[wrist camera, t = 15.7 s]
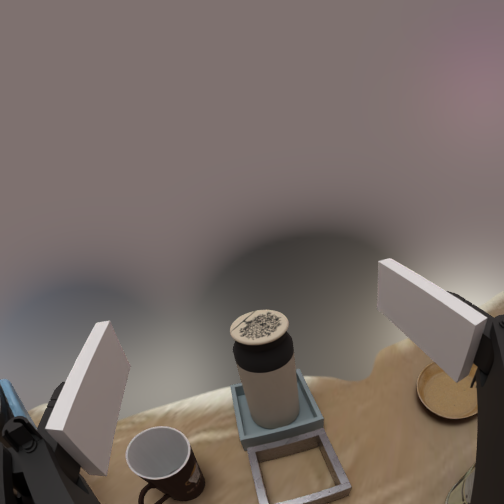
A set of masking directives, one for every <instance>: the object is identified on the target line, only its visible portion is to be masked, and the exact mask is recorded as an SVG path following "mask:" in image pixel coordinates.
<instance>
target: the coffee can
mask: <svg viewBox="0 0 504 504" xmlns="http://www.w3.org/2000/svg"><path fill="white" fill-rule="evenodd" d="M475 465H476V462H475V464H474V465H473V466H472V467H471V468H470V469H469V471H468V472H467V473H466V474H465V475H464V476H463V477H462V478H461V479H460V480H459V481H458V482H457V483H456V484H455V485H454V486H453V488H452V489H451V491H450V492H449V494H448V496H447V498H446V502H445V504H470V501H471V495H472V489H473V482H474V474H475Z"/></svg>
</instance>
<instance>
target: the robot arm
mask: <svg viewBox="0 0 504 504" xmlns="http://www.w3.org/2000/svg"><path fill="white" fill-rule="evenodd" d="M377 309H378V310H379V311H380V312H381V313H382V314H383V315H384V316H385V317H387V318H388V319H389V320H390V321H391V322H392V323H393V324H394V325H395V326H397V327H398V328H399V329H400V330H401V331H402V332H403V333H404V334H405V335H406V336H407V337H409V338H410V339H411V340H412V341H413V342H414V343H415V344H416V345H417V346H418V347H419V348H420V349H421V350H423V351H424V352H425V353H426V354H427V355H428V356H429V357H430V358H431V359H432V360H433V361H434V362H435V363H436V364H437V365H438V366H439V367H440V368H441V369H443V370H444V371H445V372H446V373H447V374H448V375H449V376H450V377H451V378H452V379H453V380H454V381H455V382H456V383H458V382H459V381H461V380H462V379H463V378H465V377H466V376H468V375H469V373H470V370H471V368H472V365H473V363H474V364H475V365H476V366H477V367H478V368H477V370H476V373H475V375H474V378H473V380H472V382H471V386H470V388H473V385H474V383H475V382H476V388H477V408H478V432H477V453H476V465H475V474H474V482H473V489H472V495H471V501H470V504H504V315H498V316H497V317H495V318H494V317H492V316H491V315H489V314H488V313H486V312H484V311H483V310H481V309H480V308H478V307H477V306H475V305H472V303H470V302H469V301H467V300H465V299H464V298H462V297H461V296H459V295H458V294H455V293H452V292H449V291H445V290H443V289H442V288H440V287H438V286H437V285H435V284H434V283H432V282H430V281H428V280H427V279H425V278H423V277H422V276H420V275H419V274H417V273H415V272H414V271H412V270H410V269H408V268H407V267H405V266H403V265H402V264H400V263H398V262H396V261H395V260H393V259H391V258H389V259H385V260H382V261H379V262H378V300H377ZM130 367H131V366H130V364H129V362H128V360H127V358H126V355H125V353H124V351H123V349H122V347H121V345H120V343H119V340H118V338H117V336H116V334H115V331H114V329H113V327H112V324H111V322H110V321H105V322H99V323H96V324H95V326H94V328H93V330H92V332H91V334H90V335H89V337H88V339H87V341H86V343H85V345H84V346H83V349H82V350H81V352H80V354H79V356H78V358H77V360H76V362H75V364H74V366H73V368H72V370H71V372H70V374H69V376H68V378H67V380H66V382H62V383H61V384H60V385H59V386H58V387H57V388H56V389H55V391H54V393H53V395H52V397H51V401H49V403H48V405H47V408H46V410H45V412H44V414H43V416H42V419H41V421H40V423H39V426H38V428H37V427H36V426H35V424H34V422H33V421H32V419H31V417H30V416H29V414H28V412H27V410H26V409H25V407H24V405H23V404H22V402H21V400H20V398H19V396H18V395H17V393H16V391H15V389H14V388H13V386H12V384H11V383H10V381H9V380H7V379H2V380H0V504H100V502H99V501H98V499H97V498H96V497H95V495H94V494H93V492H92V490H91V489H90V487H89V486H88V484H87V483H86V481H85V479H84V478H83V477H82V476H81V475H80V474H79V472H80V468H81V467H82V468H83V469H84V470H85V471H86V472H87V473H88V474H89V475H99V476H107V471H108V465H109V460H110V454H111V449H112V444H113V439H114V434H115V429H116V424H117V420H118V415H119V411H120V406H121V402H122V398H123V394H124V390H125V386H126V382H127V378H128V374H129V371H130Z"/></svg>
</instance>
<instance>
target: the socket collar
mask: <svg viewBox="0 0 504 504" xmlns="http://www.w3.org/2000/svg"><path fill="white" fill-rule="evenodd" d="M316 447H319V448H320V451H321V453H322V455H323V457H324V460H325V462H326V464H327V466H328V469H329V471H330V473H331V475H332V478H333V480H334V482H335V484H336V486H335V487H332V488H329V489H326V490H323V491H320V492H317V493H313V494H310V495H307V496H303V497H300V498H296V499H292V500H288V501H284V502H280V503H276V504H326V503H329V502H332V501H335V500H338V499H341V498H343V497H346V496H349V494H350V491H351V488H352V487H351V485H350V482H349V480H348V478H347V476H346V474H345V472H344V470H343V468H342V466H341V464H340V462H339V460H338V458H337V456H336V453H335V451H334V449H333V447H332V445H331V443H330V441H329V439H328V437H327V435H326V433H325V430H324V428H321V429H318V430H315V431H312V432H308V433H305V434H302V435H298V436H295V437H291V438H287V439H284V440H280V441H276V442H272V443H268V444H263V445H259V446H254V447H249V448H247V451H248V456H249V461H250V465H251V470H252V474H253V478H254V483H255V487H256V491H257V496H258V500H259V504H269V500H268V496H267V492H266V489H265V485H264V481H263V477H262V473H261V469H260V465H259V462H264V461H268V460H272V459H277V458H281V457H284V456H288V455H292V454H296V453H299V452H303V451H306V450H309V449H312V448H316Z"/></svg>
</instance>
